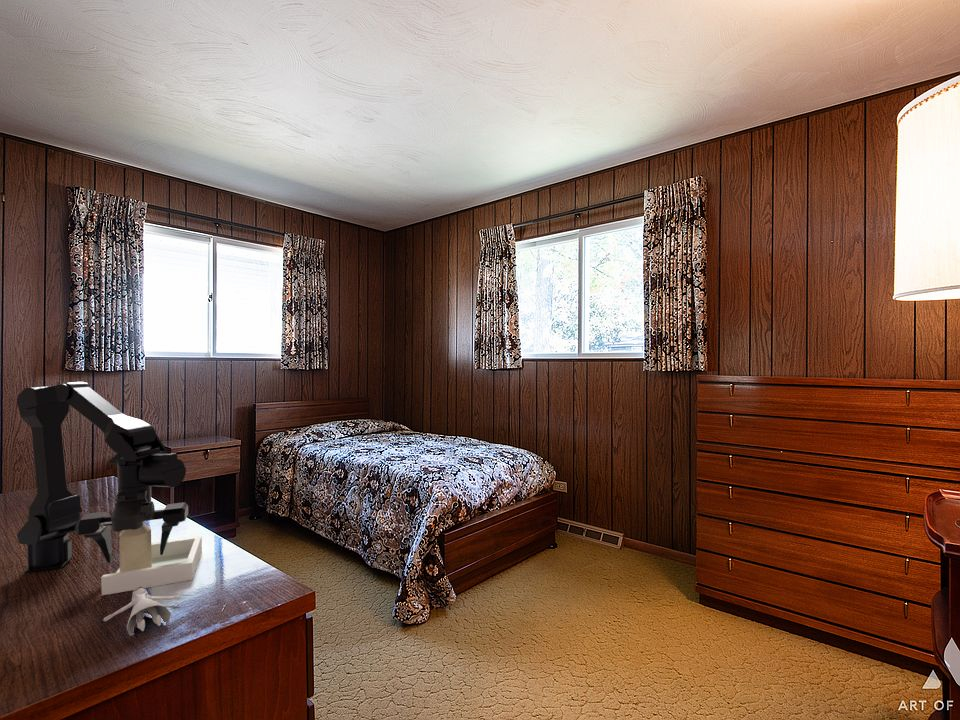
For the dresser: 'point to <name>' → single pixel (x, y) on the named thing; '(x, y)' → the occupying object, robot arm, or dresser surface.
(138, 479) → the robot arm
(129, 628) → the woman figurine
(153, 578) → the box
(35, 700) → the dresser surface
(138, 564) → the candle
